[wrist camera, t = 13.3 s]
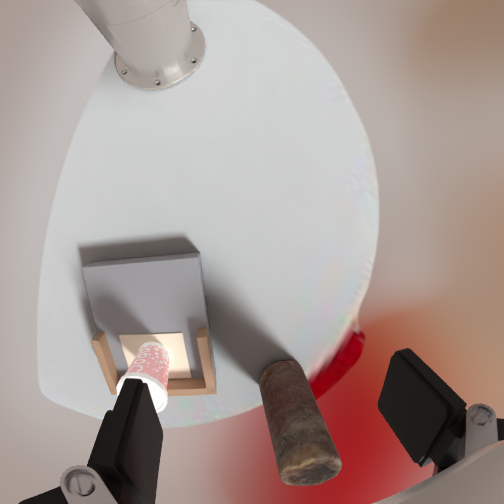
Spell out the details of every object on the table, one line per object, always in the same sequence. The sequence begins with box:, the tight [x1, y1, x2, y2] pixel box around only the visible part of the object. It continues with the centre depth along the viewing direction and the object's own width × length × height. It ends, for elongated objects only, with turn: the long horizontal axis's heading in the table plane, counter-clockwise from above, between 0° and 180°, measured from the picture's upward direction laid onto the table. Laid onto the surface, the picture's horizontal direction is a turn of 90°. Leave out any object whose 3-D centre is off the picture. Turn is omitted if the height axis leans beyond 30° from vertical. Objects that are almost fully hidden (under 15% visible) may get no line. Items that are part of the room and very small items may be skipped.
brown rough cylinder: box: [259, 360, 342, 486], centre depth 33 cm, size 8×7×20 cm
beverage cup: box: [116, 342, 171, 413], centre depth 29 cm, size 6×6×14 cm
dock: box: [82, 252, 216, 396], centre depth 35 cm, size 19×16×6 cm
